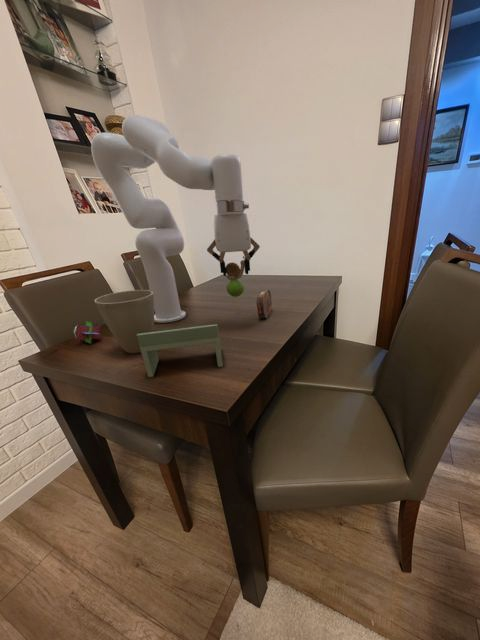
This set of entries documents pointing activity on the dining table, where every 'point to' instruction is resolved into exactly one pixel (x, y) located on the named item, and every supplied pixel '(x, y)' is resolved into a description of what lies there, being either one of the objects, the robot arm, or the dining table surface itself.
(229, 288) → the snail figurine
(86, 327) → the geometric puzzle
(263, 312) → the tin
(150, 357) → the shelf
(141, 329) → the plant pot
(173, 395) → the dining table surface
